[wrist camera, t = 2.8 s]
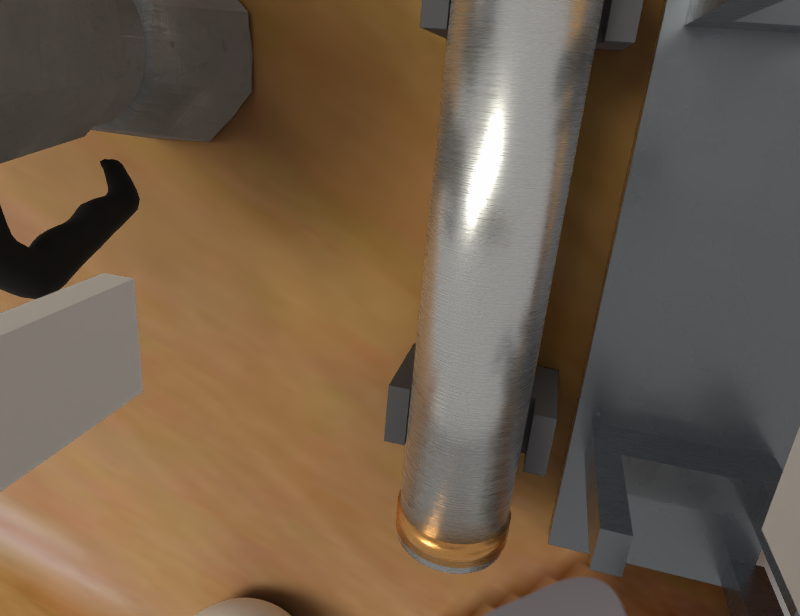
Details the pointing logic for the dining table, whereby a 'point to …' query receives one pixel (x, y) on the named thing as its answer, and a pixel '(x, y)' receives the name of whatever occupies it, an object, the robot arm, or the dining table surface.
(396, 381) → the rest chocks
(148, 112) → the coffeepot
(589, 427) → the grey tube stand
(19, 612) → the dining table surface
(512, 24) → the tube
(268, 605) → the ornament
